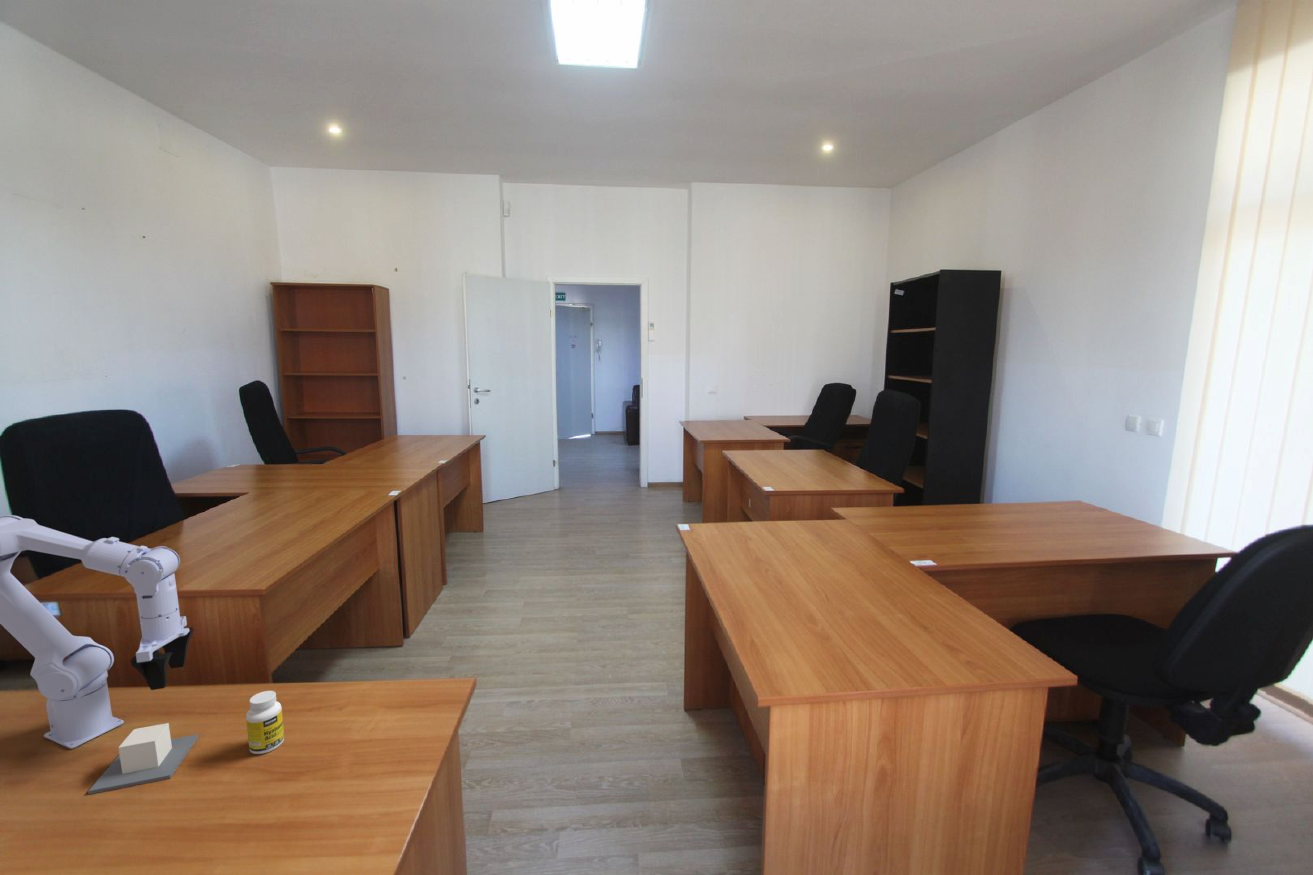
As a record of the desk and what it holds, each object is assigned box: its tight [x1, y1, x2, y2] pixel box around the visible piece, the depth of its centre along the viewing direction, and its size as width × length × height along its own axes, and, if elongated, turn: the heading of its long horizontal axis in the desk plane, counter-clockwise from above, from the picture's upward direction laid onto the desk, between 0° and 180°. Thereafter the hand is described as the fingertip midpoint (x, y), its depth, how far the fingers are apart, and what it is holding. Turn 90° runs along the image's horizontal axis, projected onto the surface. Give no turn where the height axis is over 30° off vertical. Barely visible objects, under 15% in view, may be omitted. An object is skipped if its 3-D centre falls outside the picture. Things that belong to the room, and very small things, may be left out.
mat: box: [87, 734, 200, 795], centre depth 99 cm, size 11×11×1 cm
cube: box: [117, 722, 172, 774], centre depth 98 cm, size 5×5×5 cm
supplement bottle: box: [245, 690, 285, 755], centre depth 103 cm, size 5×5×10 cm
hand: (168, 677), depth 109 cm, fingers open, 7 cm apart
